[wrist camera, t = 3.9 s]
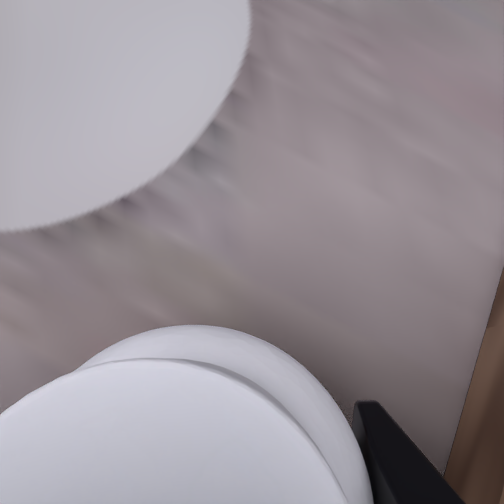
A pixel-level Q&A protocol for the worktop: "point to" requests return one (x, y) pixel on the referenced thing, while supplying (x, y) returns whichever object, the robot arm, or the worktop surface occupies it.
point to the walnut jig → (483, 421)
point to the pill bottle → (182, 428)
